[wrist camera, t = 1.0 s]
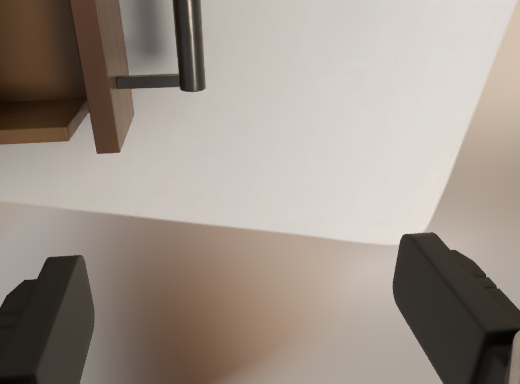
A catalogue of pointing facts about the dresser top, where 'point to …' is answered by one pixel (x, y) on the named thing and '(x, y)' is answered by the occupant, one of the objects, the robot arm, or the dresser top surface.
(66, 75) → the drawer
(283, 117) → the dresser top surface
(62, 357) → the robot arm
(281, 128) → the dresser top surface
